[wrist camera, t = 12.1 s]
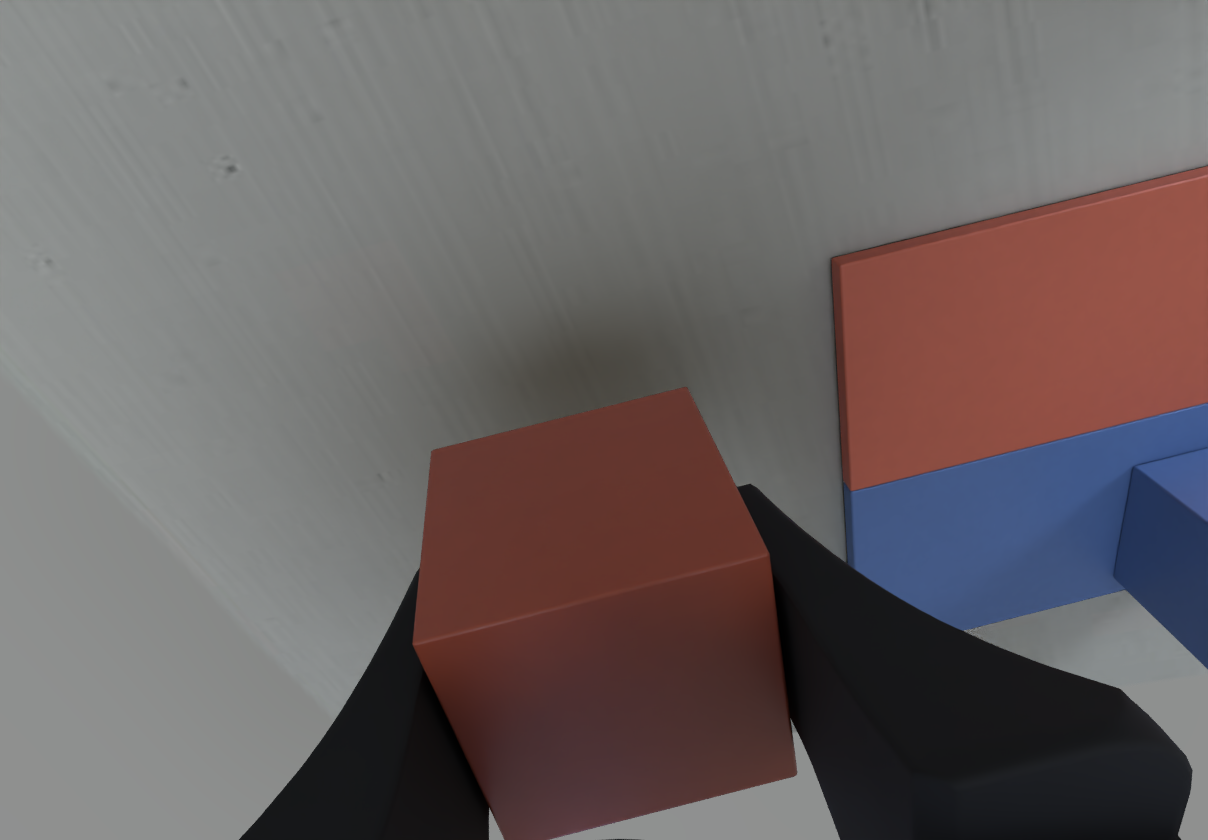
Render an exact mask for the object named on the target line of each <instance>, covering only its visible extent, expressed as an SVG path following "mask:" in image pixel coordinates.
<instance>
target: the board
mask: <svg viewBox="0 0 1208 840" xmlns="http://www.w3.org/2000/svg"><path fill="white" fill-rule="evenodd" d="M831 262H832V280H833V299H834V317H835V336H836V355H837V373H838V392H839V410H840V429H841V447H842V466H843V481H844V502H845V520H846V539H847V557H848V565H850V566H851V567H852V568H854V569H855V570H857V571H858V572H860V573H861V574H863V575H864V576H866V577H867V578H868V579H870V580H871V581H873V582H875V583H876V584H878V585H879V586H881V587H882V588H884V589H885V590H887V591H889V592H890V593H892V594H894V595H895V596H897V597H899V598H900V599H902V600H904V601H906V602H907V603H909V604H911V605H912V606H914V607H916V608H918V609H919V610H921V611H923V612H925V613H927V614H929V615H931V616H933V617H935V618H936V619H938V620H940V621H942V622H944V623H947V624H949V625H951V626H953V627H955V628H957V629H960V630H962V631H964V630H968V629H972V628H976V627H979V626H983V625H987V624H991V623H995V622H999V621H1003V620H1007V619H1011V618H1015V617H1019V616H1023V615H1027V614H1031V613H1035V612H1039V611H1043V610H1047V609H1051V608H1055V607H1059V606H1063V605H1067V604H1071V603H1075V602H1078V601H1082V600H1086V599H1090V598H1094V597H1098V596H1102V595H1106V594H1110V593H1114V592H1118V591H1122V590H1126V589H1125V588H1124V587H1123V586H1121V585H1120V584H1119V583H1118V582H1117V581H1116V580H1115V579H1114V571H1115V565H1116V559H1117V554H1118V548H1119V543H1120V537H1121V532H1122V526H1123V521H1124V515H1125V510H1126V504H1127V499H1128V493H1129V488H1130V482H1131V476H1132V471H1133V468H1134V467H1135V466H1137V465H1141V464H1145V463H1149V462H1153V461H1157V460H1161V459H1165V458H1169V457H1173V456H1177V455H1181V454H1185V453H1189V452H1193V451H1197V450H1201V449H1205V448H1208V166H1206V167H1202V168H1198V169H1194V170H1190V171H1186V172H1182V173H1178V174H1174V175H1170V176H1166V177H1161V178H1157V179H1153V180H1149V181H1145V182H1141V183H1137V184H1133V185H1129V186H1125V187H1121V188H1117V189H1112V190H1108V191H1104V192H1100V193H1096V194H1092V195H1088V196H1084V197H1080V198H1076V199H1072V200H1067V201H1063V202H1059V203H1055V204H1051V205H1047V206H1043V207H1039V208H1035V209H1031V210H1027V211H1023V212H1018V213H1014V214H1010V215H1006V216H1002V217H998V218H994V219H990V220H986V221H982V222H978V223H974V224H969V225H965V226H961V227H957V228H953V229H949V230H945V231H941V232H937V233H933V234H929V235H924V236H920V237H916V238H912V239H908V240H904V241H900V242H896V243H892V244H888V245H884V246H880V247H875V248H871V249H867V250H863V251H859V252H855V253H851V254H847V255H843V256H839V257H835V258H832V260H831Z"/></svg>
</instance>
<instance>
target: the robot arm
mask: <svg viewBox="0 0 1208 840" xmlns="http://www.w3.org/2000/svg"><path fill="white" fill-rule="evenodd" d="M737 489H738V491H739V493H740V495H741V497H742V499H743V501H744V503H745V505H746V507H747V509H748V511H749V513H750V515H751V517H752V519H753V521H754V523H755V525H756V528H757V530H758V532H759V534H760V536H761V538H762V540H763V542H764V544H765V546H766V548H767V550H768V552H769V554H770V562H771V570H772V578H773V586H774V593H775V601H776V609H777V617H778V625H779V633H780V641H781V648H782V656H783V664H784V672H785V680H786V688H787V695H788V703H789V711H790V718H791V720H792V722H793V724H794V726H795V728H796V730H797V732H798V734H799V736H800V738H801V740H802V742H803V745H804V747H805V749H806V751H807V754H808V756H809V758H810V761H811V763H812V765H813V768H814V771H815V773H816V776H817V778H818V781H819V784H820V786H821V789H822V792H823V794H824V797H825V800H826V802H827V805H828V808H829V810H830V813H831V816H832V818H833V821H834V824H835V826H836V829H837V832H838V835H839V837H840V840H1181V839H1180V838H1179V836H1178V832H1179V829H1180V825H1181V822H1182V818H1183V815H1184V811H1185V808H1186V805H1187V802H1188V798H1189V795H1190V790H1191V781H1192V768H1191V766H1190V764H1189V761H1188V759H1187V757H1186V755H1185V754H1184V753H1183V752H1182V751H1181V750H1180V749H1179V748H1178V747H1177V745H1176V744H1175V743H1174V742H1173V741H1172V740H1171V739H1170V738H1169V736H1168V735H1167V734H1166V733H1165V732H1164V731H1163V730H1162V729H1161V727H1160V726H1159V725H1157V723H1156V722H1155V721H1154V720H1153V719H1151V717H1150V716H1149V715H1148V714H1147V713H1146V712H1144V711H1143V710H1142V709H1141V708H1140V707H1139V706H1138V705H1137V704H1135V703H1134V702H1133V701H1132V700H1131V699H1130V698H1129V697H1128V696H1127V695H1126V694H1125V693H1124V692H1123V691H1122V690H1121V689H1119V688H1116V687H1113V686H1109V685H1106V684H1103V683H1100V682H1097V681H1094V680H1090V679H1087V678H1084V677H1081V676H1078V675H1075V674H1071V673H1068V672H1065V671H1062V670H1059V669H1056V668H1052V667H1049V666H1047V665H1044V664H1041V663H1038V662H1036V661H1033V660H1031V659H1028V658H1025V657H1023V656H1020V655H1018V654H1015V653H1012V652H1010V651H1007V650H1004V649H1002V648H1000V647H997V646H995V645H993V644H990V643H988V642H985V641H983V640H981V639H979V638H977V637H975V636H972V635H970V634H968V633H966V632H964V631H962V630H960V629H957V628H955V627H953V626H951V625H949V624H947V623H944V622H942V621H940V620H938V619H936V618H935V617H933V616H931V615H929V614H927V613H925V612H923V611H921V610H919V609H918V608H916V607H914V606H912V605H911V604H909V603H907V602H906V601H904V600H902V599H900V598H899V597H897V596H895V595H894V594H892V593H890V592H889V591H887V590H885V589H884V588H882V587H881V586H879V585H878V584H876V583H875V582H873V581H871V580H870V579H868V578H867V577H866V576H864V575H863V574H861V573H860V572H858V571H857V570H855V569H854V568H852V567H851V566H850V565H848V564H847V563H845V562H844V561H843V560H841V559H840V558H839V557H837V556H836V555H834V554H833V553H832V552H831V551H829V550H828V549H827V548H825V547H824V546H823V545H822V544H820V543H819V542H818V541H817V540H815V539H814V538H813V537H811V536H810V535H809V534H808V533H806V532H805V531H804V530H803V529H802V528H800V527H799V526H798V525H797V524H796V523H795V522H793V521H792V520H791V519H790V518H789V517H788V516H786V515H785V514H784V513H783V512H782V511H781V510H780V509H779V508H778V507H776V506H775V505H774V504H773V503H772V502H771V501H770V500H769V499H768V498H767V497H766V496H765V495H764V494H763V493H762V492H761V491H760V490H759V489H758V488H756V487H755V486H753V485H751V484H748V485H744V486H740V487H737ZM419 572H420V568H419V569H418V571H417V572H416V574H415V576H414V578H413V580H412V582H411V584H410V586H409V588H408V590H407V592H406V595H405V597H404V599H403V601H402V603H401V605H400V607H399V609H398V611H397V613H396V615H395V617H394V619H393V621H392V623H391V625H390V627H389V629H388V631H387V632H386V634H385V636H384V638H383V640H382V642H381V643H380V645H379V647H378V649H377V651H376V653H375V655H374V656H373V658H372V660H371V662H370V664H369V666H368V667H367V669H366V671H365V672H364V674H363V676H362V677H361V679H360V681H359V682H358V684H357V686H356V687H355V689H354V691H353V692H352V694H351V695H350V697H349V699H348V700H347V702H346V704H345V705H344V707H343V709H342V710H341V712H340V713H339V715H338V716H337V718H336V719H335V721H334V722H333V724H332V725H331V727H330V728H329V730H328V731H327V733H326V734H325V736H324V737H323V739H322V740H321V741H320V743H319V744H318V745H317V747H316V748H315V749H314V751H313V752H312V754H311V755H310V757H309V758H308V759H307V761H306V762H305V763H304V764H303V766H302V767H301V768H300V770H299V771H298V772H297V773H296V775H295V776H294V777H293V778H292V779H291V780H290V781H289V783H288V784H287V785H286V786H285V788H284V789H283V790H282V791H281V792H280V794H279V795H278V796H277V797H276V798H275V799H274V801H273V802H272V803H271V804H270V805H269V807H268V808H267V809H266V810H265V811H264V813H263V814H262V815H261V816H260V817H259V818H258V820H257V821H256V822H255V823H254V824H253V825H252V826H251V827H250V828H249V829H248V831H247V832H246V833H245V834H244V835H243V836H242V837H241V838H240V839H239V840H489V806H488V804H487V801H486V799H485V797H484V795H483V793H482V791H481V789H480V787H479V785H478V782H477V780H476V778H475V776H474V774H473V772H472V770H471V768H470V765H469V763H468V761H467V759H466V757H465V755H464V753H463V751H462V748H461V746H460V744H459V742H458V740H457V738H456V736H455V734H454V732H453V729H452V727H451V725H450V723H449V721H448V719H447V717H446V715H445V712H444V710H443V708H442V706H441V704H440V702H439V700H438V698H437V695H436V693H435V691H434V689H433V687H432V685H431V683H430V681H429V678H428V676H427V674H426V672H425V670H424V668H423V666H422V664H421V662H420V659H419V657H418V655H417V653H416V651H415V649H414V647H413V645H412V643H413V633H414V623H415V612H416V602H417V592H418V582H419Z"/></svg>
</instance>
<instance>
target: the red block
mask: <svg viewBox="0 0 1208 840" xmlns="http://www.w3.org/2000/svg"><path fill="white" fill-rule="evenodd" d="M412 645H413V647H414V649H415V651H416V653H417V655H418V657H419V659H420V662H421V664H422V666H423V668H424V670H425V672H426V674H427V676H428V678H429V681H430V683H431V685H432V687H433V689H434V691H435V693H436V695H437V698H438V700H439V702H440V704H441V706H442V708H443V710H444V712H445V715H446V717H447V719H448V721H449V723H450V725H451V727H452V729H453V732H454V734H455V736H456V738H457V740H458V742H459V744H460V746H461V748H462V751H463V753H464V755H465V757H466V759H467V761H468V763H469V765H470V768H471V770H472V772H473V774H474V776H475V778H476V780H477V782H478V785H479V787H480V789H481V791H482V793H483V795H484V797H485V799H486V801H487V804H488V806H489V808H490V810H491V812H492V814H493V816H494V818H495V820H496V823H497V825H498V827H499V829H500V831H501V833H502V835H503V837H504V840H549V839H553V838H557V837H561V836H564V835H569V834H573V833H577V832H581V831H584V830H588V829H592V828H596V827H600V826H604V825H607V824H612V823H615V822H619V821H623V820H627V819H631V818H635V817H639V816H643V815H647V814H650V813H654V812H658V811H662V810H666V809H670V808H674V807H678V806H681V805H685V804H689V803H693V802H697V801H701V800H705V799H709V798H712V797H716V796H720V795H724V794H728V793H732V792H736V791H740V790H743V789H747V788H751V787H755V786H759V785H763V784H767V783H771V782H775V781H779V780H782V779H786V778H790V777H794V776H796V775H797V766H796V759H795V751H794V743H793V735H792V727H791V719H790V711H789V703H788V695H787V688H786V680H785V672H784V664H783V656H782V648H781V641H780V633H779V625H778V617H777V609H776V601H775V593H774V586H773V578H772V570H771V562H770V554H769V552H768V550H767V548H766V546H765V544H764V542H763V540H762V538H761V536H760V534H759V532H758V530H757V528H756V525H755V523H754V521H753V519H752V517H751V515H750V513H749V511H748V509H747V507H746V505H745V503H744V501H743V499H742V497H741V495H740V493H739V491H738V489H737V487H736V485H735V483H734V481H733V479H732V477H731V475H730V473H729V471H728V469H727V467H726V465H725V463H724V461H723V459H722V457H721V455H720V453H719V451H718V449H717V446H716V444H715V442H714V440H713V438H712V436H711V434H710V432H709V430H708V428H707V426H706V424H705V422H704V420H703V418H702V416H701V414H700V412H699V410H698V408H697V406H696V404H695V402H694V400H693V398H692V396H691V394H690V392H689V390H688V388H687V387H683V388H679V389H675V390H671V391H667V392H663V393H659V394H655V395H651V396H647V397H643V398H639V399H635V400H631V401H627V402H623V403H619V404H615V405H611V406H607V407H603V408H599V409H595V410H591V411H587V412H583V413H579V414H575V415H571V416H567V417H563V418H559V419H555V420H551V421H547V422H543V423H539V424H535V425H531V426H527V427H523V428H519V429H515V430H511V431H507V432H503V433H499V434H495V435H491V436H487V437H483V438H479V439H475V440H471V441H467V442H463V443H459V444H455V445H451V446H447V447H443V448H439V449H435V450H433V451H431V460H430V471H429V481H428V491H427V501H426V511H425V521H424V531H423V542H422V552H421V562H420V572H419V582H418V592H417V602H416V612H415V623H414V633H413V643H412Z"/></svg>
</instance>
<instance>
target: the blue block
mask: <svg viewBox="0 0 1208 840" xmlns="http://www.w3.org/2000/svg"><path fill="white" fill-rule="evenodd" d="M1114 579H1115V580H1116V581H1117V582H1118V583H1119V584H1120V585H1121V586H1123V587H1124V588H1125V589H1126V590H1127V591H1128V592H1129V593H1130V594H1131V595H1132V596H1133V597H1134V598H1135V599H1136V600H1137V601H1138V602H1139V603H1140V604H1141V605H1142V606H1143V607H1144V608H1145V609H1146V610H1147V611H1148V612H1149V613H1150V614H1151V615H1152V616H1153V617H1154V618H1156V619H1157V620H1158V621H1159V622H1160V623H1161V624H1162V625H1163V626H1164V627H1165V628H1166V629H1167V630H1168V631H1169V632H1170V633H1171V634H1172V635H1173V636H1174V637H1175V638H1176V639H1177V640H1178V641H1179V642H1180V643H1181V644H1182V645H1183V646H1184V647H1185V648H1186V649H1187V650H1189V651H1190V652H1191V653H1192V654H1193V655H1194V656H1195V657H1196V658H1197V659H1198V660H1199V661H1200V662H1201V663H1202V664H1203V665H1204V666H1205V667H1206V668H1207V669H1208V448H1205V449H1201V450H1197V451H1193V452H1189V453H1185V454H1181V455H1177V456H1173V457H1169V458H1165V459H1161V460H1157V461H1153V462H1149V463H1145V464H1141V465H1137V466H1135V467H1134V468H1133V471H1132V476H1131V482H1130V488H1129V493H1128V499H1127V504H1126V510H1125V515H1124V521H1123V526H1122V532H1121V537H1120V543H1119V548H1118V554H1117V559H1116V565H1115V571H1114Z"/></svg>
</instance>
